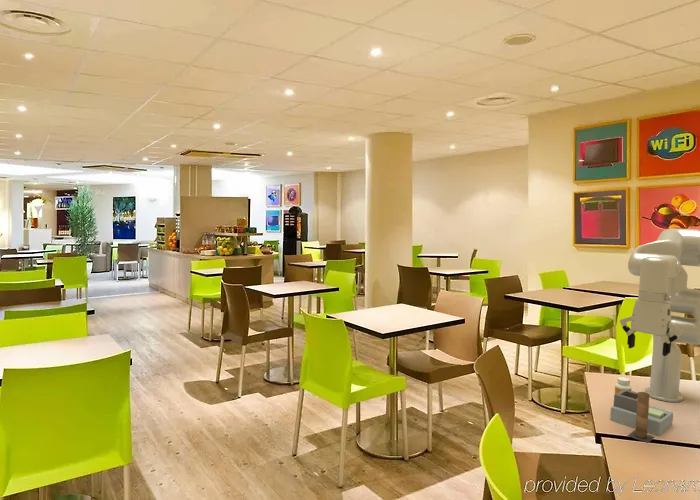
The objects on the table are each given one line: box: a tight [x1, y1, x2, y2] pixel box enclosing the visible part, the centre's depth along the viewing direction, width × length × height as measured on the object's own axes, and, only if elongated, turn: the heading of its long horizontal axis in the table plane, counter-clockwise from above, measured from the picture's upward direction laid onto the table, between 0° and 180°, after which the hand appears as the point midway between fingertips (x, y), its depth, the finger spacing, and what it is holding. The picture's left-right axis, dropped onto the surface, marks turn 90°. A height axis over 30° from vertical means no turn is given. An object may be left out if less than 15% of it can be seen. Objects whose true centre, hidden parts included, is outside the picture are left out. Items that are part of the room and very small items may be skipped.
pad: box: [627, 429, 655, 444], centre depth 161 cm, size 6×6×1 cm
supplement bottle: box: [614, 376, 632, 394], centre depth 188 cm, size 5×5×10 cm
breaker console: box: [609, 389, 674, 437], centre depth 171 cm, size 12×15×9 cm
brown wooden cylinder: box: [634, 391, 651, 439], centre depth 160 cm, size 3×3×14 cm
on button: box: [648, 408, 665, 419], centre depth 168 cm, size 5×5×5 cm
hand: (648, 351), depth 158 cm, fingers open, 9 cm apart
